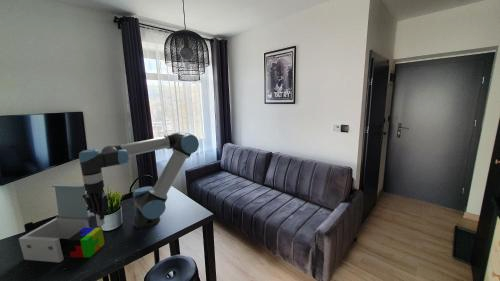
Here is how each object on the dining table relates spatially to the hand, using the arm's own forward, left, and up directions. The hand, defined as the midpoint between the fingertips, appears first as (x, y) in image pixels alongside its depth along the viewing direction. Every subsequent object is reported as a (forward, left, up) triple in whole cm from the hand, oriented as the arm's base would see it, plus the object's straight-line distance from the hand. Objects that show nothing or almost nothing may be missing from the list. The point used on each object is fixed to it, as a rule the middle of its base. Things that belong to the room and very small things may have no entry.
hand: (101, 224), depth 103 cm
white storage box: (+26, 0, -16) cm, 31 cm away
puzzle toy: (+10, 0, -16) cm, 19 cm away
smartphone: (+42, -35, -16) cm, 57 cm away
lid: (+26, -8, +6) cm, 28 cm away
